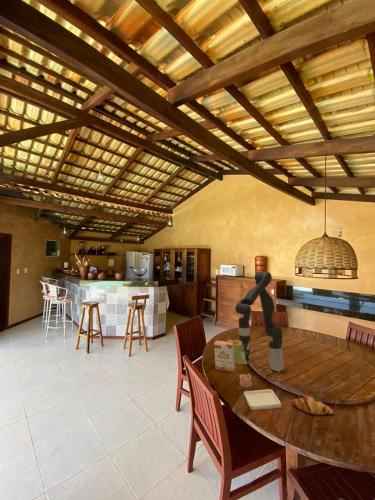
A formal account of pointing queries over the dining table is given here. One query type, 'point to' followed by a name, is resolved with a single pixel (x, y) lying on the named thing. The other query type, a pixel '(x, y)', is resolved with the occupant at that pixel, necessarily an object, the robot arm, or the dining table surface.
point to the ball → (244, 355)
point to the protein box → (238, 352)
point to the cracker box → (224, 356)
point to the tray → (262, 399)
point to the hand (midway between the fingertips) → (245, 358)
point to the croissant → (311, 406)
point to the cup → (245, 380)
